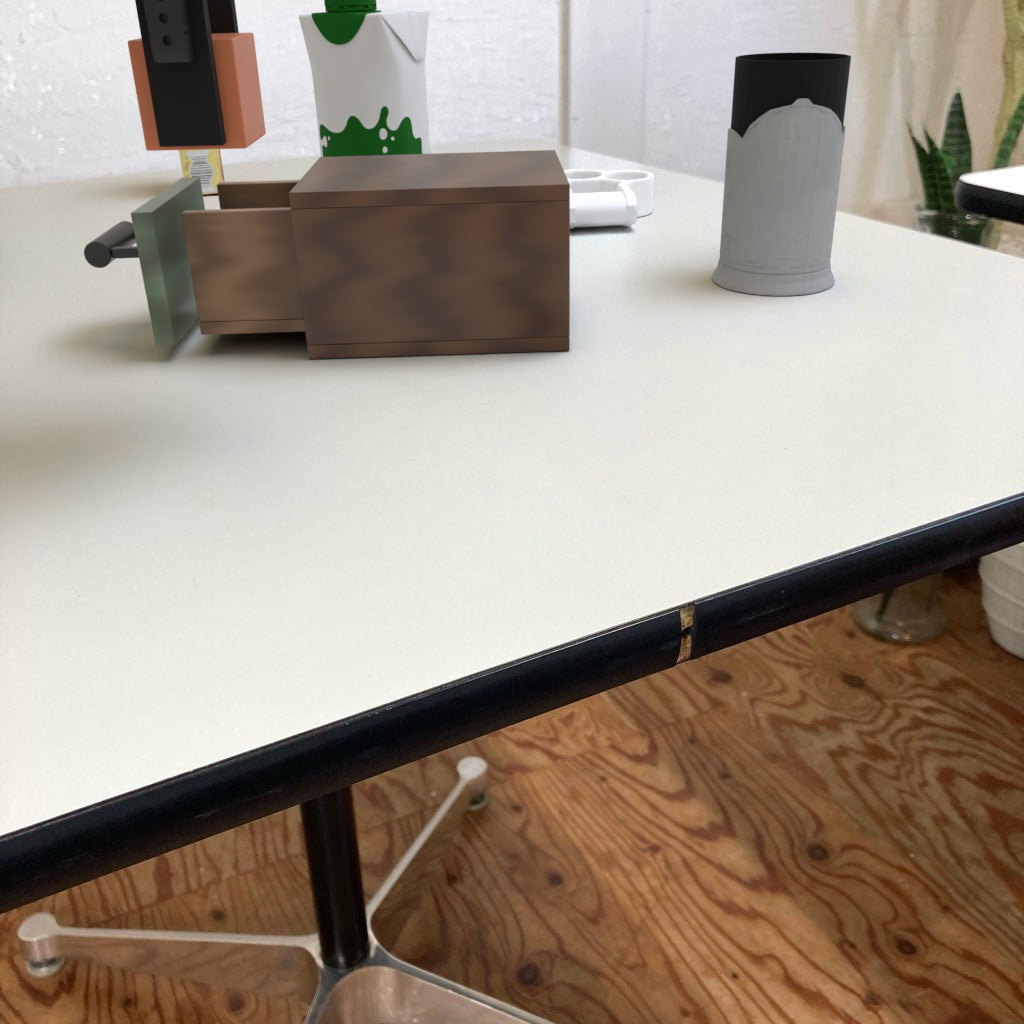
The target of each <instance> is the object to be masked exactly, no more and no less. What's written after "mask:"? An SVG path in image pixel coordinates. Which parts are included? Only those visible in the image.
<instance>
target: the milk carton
mask: <svg viewBox="0 0 1024 1024" xmlns="http://www.w3.org/2000/svg"><path fill="white" fill-rule="evenodd" d="M323 2H324V8H325V11H322V12H312V13H311V12H310V13H302V14H299V15H298V20H299V23H300V27H301V32H302V36H303V40H304V44H305V48H306V52H307V55H308V60H309V65H310V68H311V75H312V85H313V95H314V103H315V112H316V113H315V114H316V122H317V132H318V141H319V149H320V157H339V156H372V155H406V154H431V147H430V146H431V145H430V129H429V128H430V127H429V112H428V111H429V109H428V94H427V77H426V57H427V56H426V54H427V42H428V27H429V17H430V16H429V15H430V10H424V9H423V10H415V9H402V8H378V6H377V3H378V2H377V0H323Z"/></svg>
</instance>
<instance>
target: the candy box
mask: <svg viewBox="0 0 1024 1024" xmlns="http://www.w3.org/2000/svg"><path fill="white" fill-rule="evenodd" d="M178 153H179V154H178V155H179V159H180V165H181V171H182V176H183V177H200V180H201V187H202V193H203V196H204V195H218V190H217V184H218V183H220V182H225V175H224V174H225V173H224V168H223V167H224V166H223V159H222V154H221V149H202V150H178ZM183 177H182V178H183Z"/></svg>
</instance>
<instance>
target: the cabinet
mask: <svg viewBox="0 0 1024 1024" xmlns="http://www.w3.org/2000/svg"><path fill="white" fill-rule="evenodd" d="M564 170H565V169H564V168H563V166H562V163H561V161H560V158H559V156H558V154H557V151H556V150H555V149H545V150H544V149H542V150H539V149H538V150H512V151H511V150H510V151H478V152H477V151H473V152H445V153H441V152H440V153H430V154H406V155H372V156H339V157H321V156H319V157H318V159H317V160H316V161H315V162H314V163H313V165H312V166H311V167H310V168H309V169H308V170H307V171H306V173H304V175H303V176H302V177H301V178H300V179H299V180H300V181H299V182H298V183H297V184H296V185H295V186H294V187H293V189H292V190H291V191H290V192H289V200H290V208H291V217H292V225H293V234H294V242H295V250H296V259H297V267H298V275H299V284H300V292H301V300H302V308H303V317H304V325H305V333H304V334H305V341H306V347H307V356H308V359H309V360H322V359H324V360H325V359H352V358H353V359H356V358H383V357H385V358H386V357H414V356H415V357H417V356H446V355H474V354H475V355H476V354H477V355H478V354H479V355H480V354H504V353H506V354H509V353H511V354H512V353H535V352H536V353H537V352H569V351H570V349H571V348H570V347H571V346H570V344H571V343H570V341H571V340H570V338H571V337H570V335H571V334H570V331H571V329H570V325H571V323H570V321H571V320H570V319H571V318H570V317H571V316H570V315H571V314H570V312H571V311H570V310H571V309H570V307H571V303H570V302H571V301H570V300H571V299H570V298H571V296H570V294H571V290H570V289H571V287H570V285H571V284H570V283H571V278H570V277H571V276H570V274H571V272H570V270H571V269H570V267H571V266H570V265H571V263H570V262H571V260H570V257H571V247H570V246H571V245H570V243H571V237H570V236H571V234H570V233H571V230H570V201H569V200H570V184H569V182H568V180H567V177H566V175H565V172H564Z"/></svg>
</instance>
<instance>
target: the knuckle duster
mask: <svg viewBox="0 0 1024 1024" xmlns="http://www.w3.org/2000/svg"><path fill="white" fill-rule="evenodd" d="M563 170H564V172H565V175H566V177H567V180H568V182H569V184H570V200H569V201H570V229H572V230H573V229H575V228H584V227H585V228H586V227H588V228H589V227H606V226H607V227H608V226H622V227H632V226H633V225H635V224H636V223H637V221H638V218H641V217H646V216H649V215H651V214H652V213H653V211H654V205H655V201H654V200H655V175H654V173H652V172H650V171H646V170H639V169H616V170H615V169H611V170H610V169H609V170H608V169H607V170H606V169H605V170H604V169H603V170H602V169H601V170H600V169H590V168H589V169H587V168H584V169H583V168H580V169H579V168H569V169H563Z"/></svg>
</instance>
